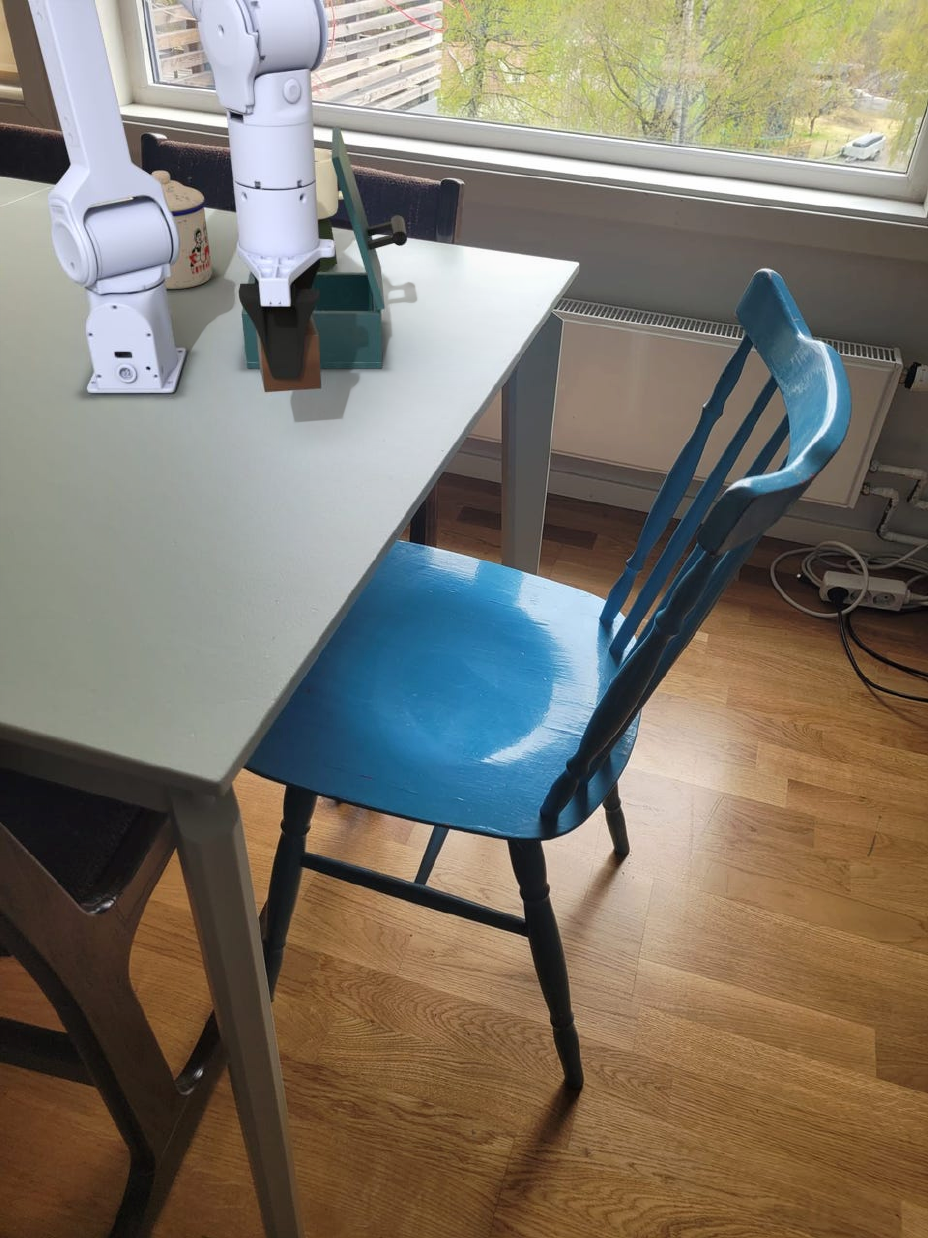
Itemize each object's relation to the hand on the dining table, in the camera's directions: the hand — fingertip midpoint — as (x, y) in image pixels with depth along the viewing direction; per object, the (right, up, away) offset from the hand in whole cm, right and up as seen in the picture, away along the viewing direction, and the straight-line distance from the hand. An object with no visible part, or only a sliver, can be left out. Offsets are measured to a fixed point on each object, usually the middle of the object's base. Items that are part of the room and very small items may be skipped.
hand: (288, 361), depth 76 cm
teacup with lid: (-21, +21, +40) cm, 49 cm away
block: (0, -1, +1) cm, 1 cm away
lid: (+3, +19, +18) cm, 26 cm away
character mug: (-5, +23, +43) cm, 49 cm away
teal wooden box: (-2, +8, +25) cm, 27 cm away
